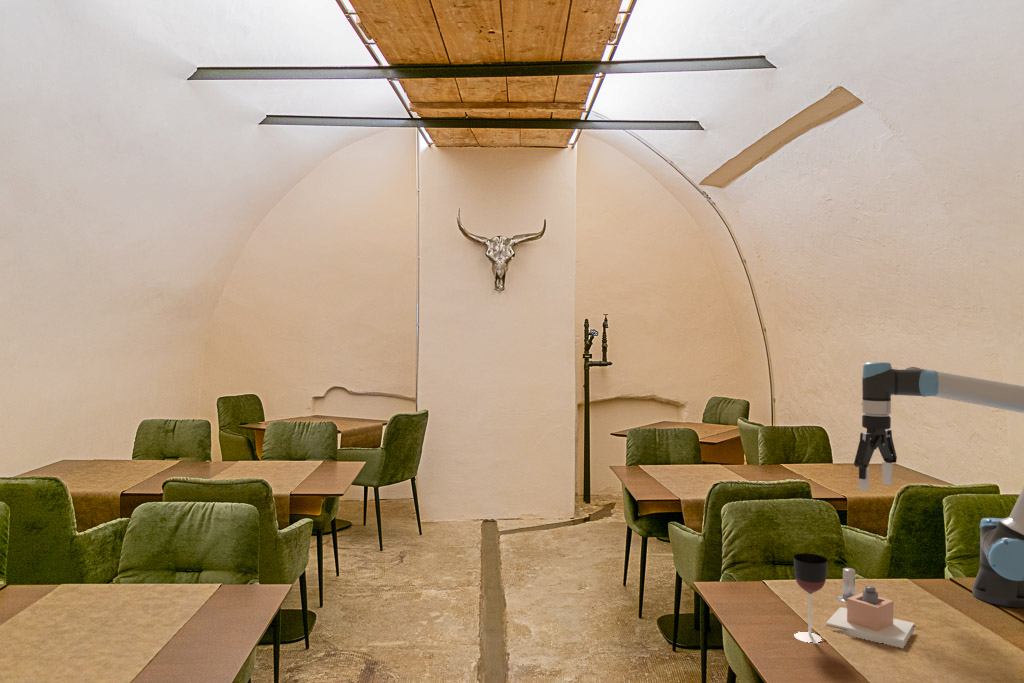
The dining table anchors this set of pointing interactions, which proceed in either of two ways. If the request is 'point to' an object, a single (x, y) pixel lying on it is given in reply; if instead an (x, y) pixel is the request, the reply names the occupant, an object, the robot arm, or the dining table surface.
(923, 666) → the dining table surface
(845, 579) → the stand
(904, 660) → the dining table surface
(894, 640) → the base plate with rod
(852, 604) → the collar
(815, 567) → the wineglass
